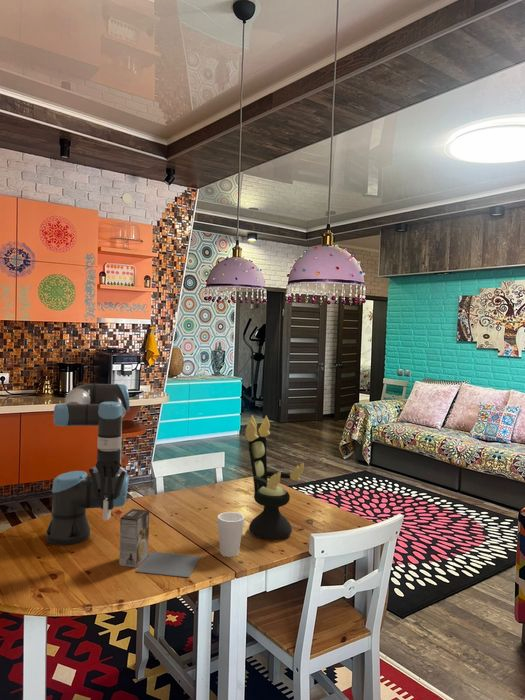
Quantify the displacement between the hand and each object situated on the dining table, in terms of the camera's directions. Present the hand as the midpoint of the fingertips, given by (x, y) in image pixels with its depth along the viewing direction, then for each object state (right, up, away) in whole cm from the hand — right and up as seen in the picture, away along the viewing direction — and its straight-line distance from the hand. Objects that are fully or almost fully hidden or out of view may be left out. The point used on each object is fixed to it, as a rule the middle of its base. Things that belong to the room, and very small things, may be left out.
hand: (106, 518), depth 174 cm
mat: (+21, -15, -2) cm, 26 cm away
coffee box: (+9, -14, 0) cm, 17 cm away
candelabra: (+53, -15, +29) cm, 63 cm away
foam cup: (+41, -15, +9) cm, 44 cm away
